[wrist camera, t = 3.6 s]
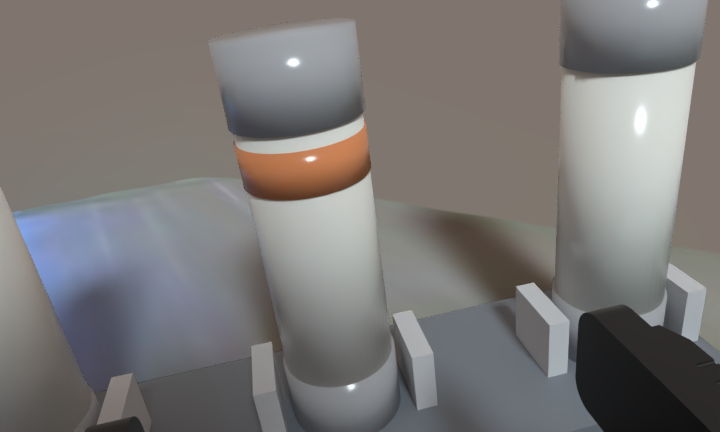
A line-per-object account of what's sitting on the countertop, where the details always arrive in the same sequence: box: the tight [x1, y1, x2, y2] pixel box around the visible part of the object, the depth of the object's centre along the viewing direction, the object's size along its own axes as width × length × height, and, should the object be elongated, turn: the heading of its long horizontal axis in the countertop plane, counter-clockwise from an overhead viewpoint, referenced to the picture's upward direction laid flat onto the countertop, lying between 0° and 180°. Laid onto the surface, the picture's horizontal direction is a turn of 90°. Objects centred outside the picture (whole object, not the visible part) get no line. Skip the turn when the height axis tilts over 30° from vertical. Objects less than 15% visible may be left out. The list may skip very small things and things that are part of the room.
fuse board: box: [94, 263, 720, 432], centre depth 22 cm, size 29×8×4 cm, turn 102°
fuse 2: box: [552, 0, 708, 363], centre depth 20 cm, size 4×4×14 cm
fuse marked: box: [208, 18, 401, 432], centre depth 19 cm, size 4×4×14 cm
